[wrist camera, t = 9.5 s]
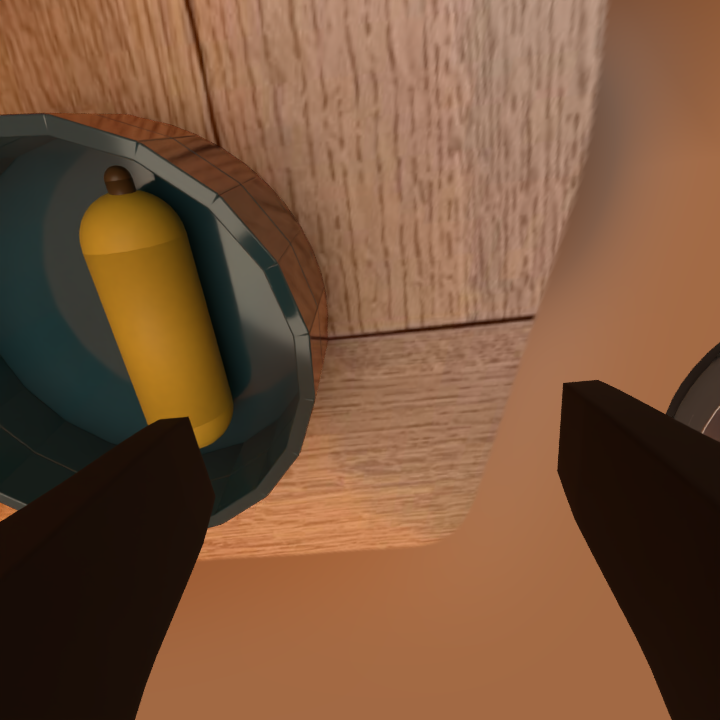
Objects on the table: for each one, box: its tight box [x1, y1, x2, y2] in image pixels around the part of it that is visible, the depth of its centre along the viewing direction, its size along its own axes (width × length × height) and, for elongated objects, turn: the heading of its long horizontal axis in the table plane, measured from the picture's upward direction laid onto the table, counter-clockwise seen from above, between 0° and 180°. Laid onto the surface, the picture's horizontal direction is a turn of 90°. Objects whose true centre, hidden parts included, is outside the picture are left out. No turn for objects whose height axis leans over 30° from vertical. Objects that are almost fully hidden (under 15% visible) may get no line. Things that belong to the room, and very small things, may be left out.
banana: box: [79, 165, 233, 449], centre depth 17 cm, size 10×3×3 cm
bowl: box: [0, 113, 328, 528], centre depth 17 cm, size 14×14×5 cm
